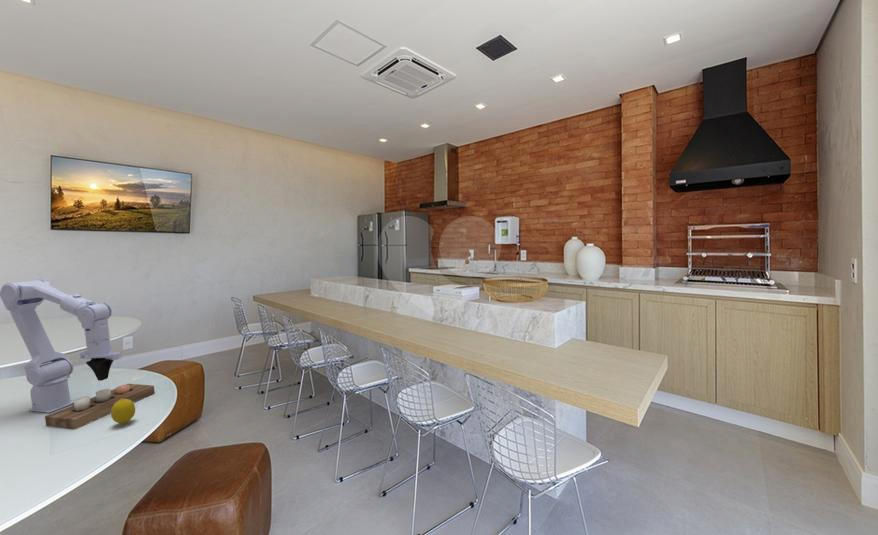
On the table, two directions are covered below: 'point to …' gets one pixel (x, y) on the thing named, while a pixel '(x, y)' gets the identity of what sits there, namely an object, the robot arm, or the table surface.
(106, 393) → the grey plug middle
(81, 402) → the grey plug right
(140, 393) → the walnut board
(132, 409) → the lemon
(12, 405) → the table surface
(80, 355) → the robot arm
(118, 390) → the terracotta plug
